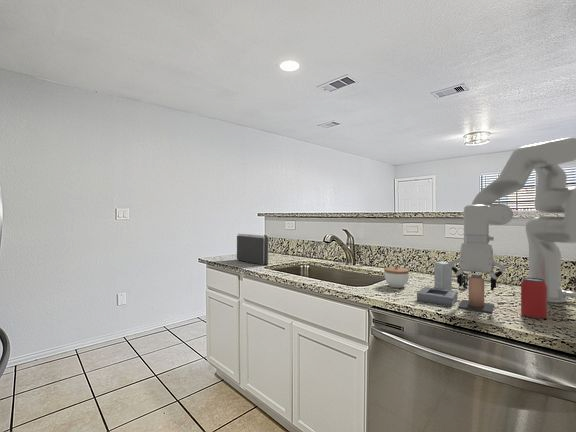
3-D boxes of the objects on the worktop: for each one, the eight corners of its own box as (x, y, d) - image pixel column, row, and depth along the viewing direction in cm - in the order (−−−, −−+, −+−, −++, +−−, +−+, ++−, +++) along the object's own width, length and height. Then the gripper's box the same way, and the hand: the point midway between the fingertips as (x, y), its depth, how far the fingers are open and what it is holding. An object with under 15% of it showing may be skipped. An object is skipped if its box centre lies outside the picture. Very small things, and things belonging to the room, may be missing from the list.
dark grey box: (233, 260, 221) (233, 233, 221) (257, 257, 236) (257, 231, 236) (264, 266, 196) (264, 235, 196) (289, 262, 211) (289, 234, 211)
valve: (435, 285, 141) (464, 290, 133) (435, 271, 141) (464, 274, 133) (439, 283, 146) (468, 287, 138) (439, 269, 146) (468, 272, 138)
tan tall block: (484, 304, 110) (485, 274, 110) (483, 308, 106) (483, 277, 106) (469, 302, 113) (469, 273, 113) (467, 305, 109) (467, 275, 109)
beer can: (525, 318, 98) (525, 280, 98) (518, 311, 104) (518, 276, 104) (550, 320, 96) (550, 282, 96) (542, 313, 102) (542, 277, 102)
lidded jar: (391, 282, 149) (390, 262, 149) (413, 286, 141) (413, 265, 141) (379, 286, 141) (379, 265, 141) (402, 290, 134) (402, 268, 133)
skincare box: (452, 292, 130) (452, 263, 130) (443, 292, 129) (443, 264, 129) (442, 288, 136) (442, 261, 136) (433, 289, 135) (433, 261, 135)
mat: (494, 306, 111) (494, 304, 111) (491, 313, 103) (491, 311, 103) (462, 301, 117) (462, 299, 117) (457, 308, 109) (457, 306, 109)
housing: (457, 298, 120) (457, 290, 120) (452, 306, 111) (452, 298, 111) (424, 293, 127) (424, 286, 127) (416, 300, 118) (416, 293, 118)
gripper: (506, 239, 107) (506, 289, 107) (450, 237, 117) (450, 282, 118) (505, 241, 101) (505, 293, 101) (446, 239, 111) (447, 286, 112)
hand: (476, 287), depth 109 cm, fingers open, 9 cm apart
